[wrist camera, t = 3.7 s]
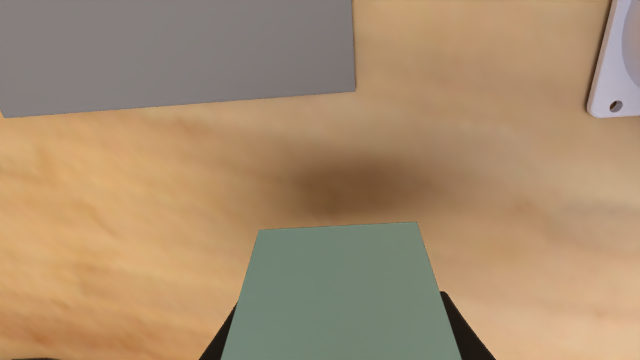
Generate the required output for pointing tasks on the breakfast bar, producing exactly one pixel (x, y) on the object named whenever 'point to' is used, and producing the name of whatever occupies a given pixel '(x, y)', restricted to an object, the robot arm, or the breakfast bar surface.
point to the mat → (169, 52)
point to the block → (340, 297)
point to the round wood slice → (37, 359)
